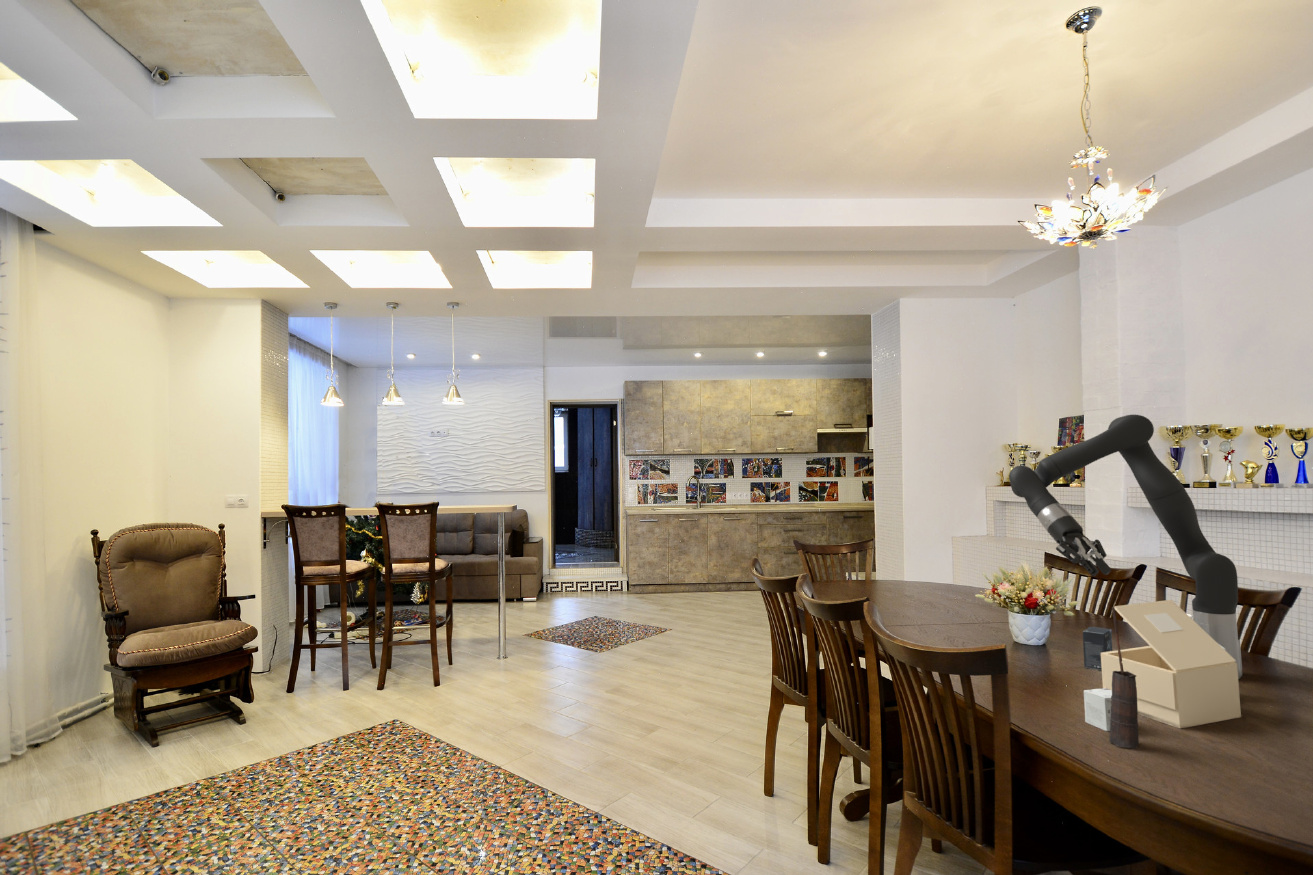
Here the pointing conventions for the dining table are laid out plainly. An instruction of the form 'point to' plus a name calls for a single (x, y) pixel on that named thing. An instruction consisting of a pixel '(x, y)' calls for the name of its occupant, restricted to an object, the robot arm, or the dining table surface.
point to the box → (1096, 646)
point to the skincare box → (1098, 707)
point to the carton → (1177, 688)
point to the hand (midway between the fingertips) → (1102, 573)
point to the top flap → (1174, 635)
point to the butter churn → (1123, 704)
